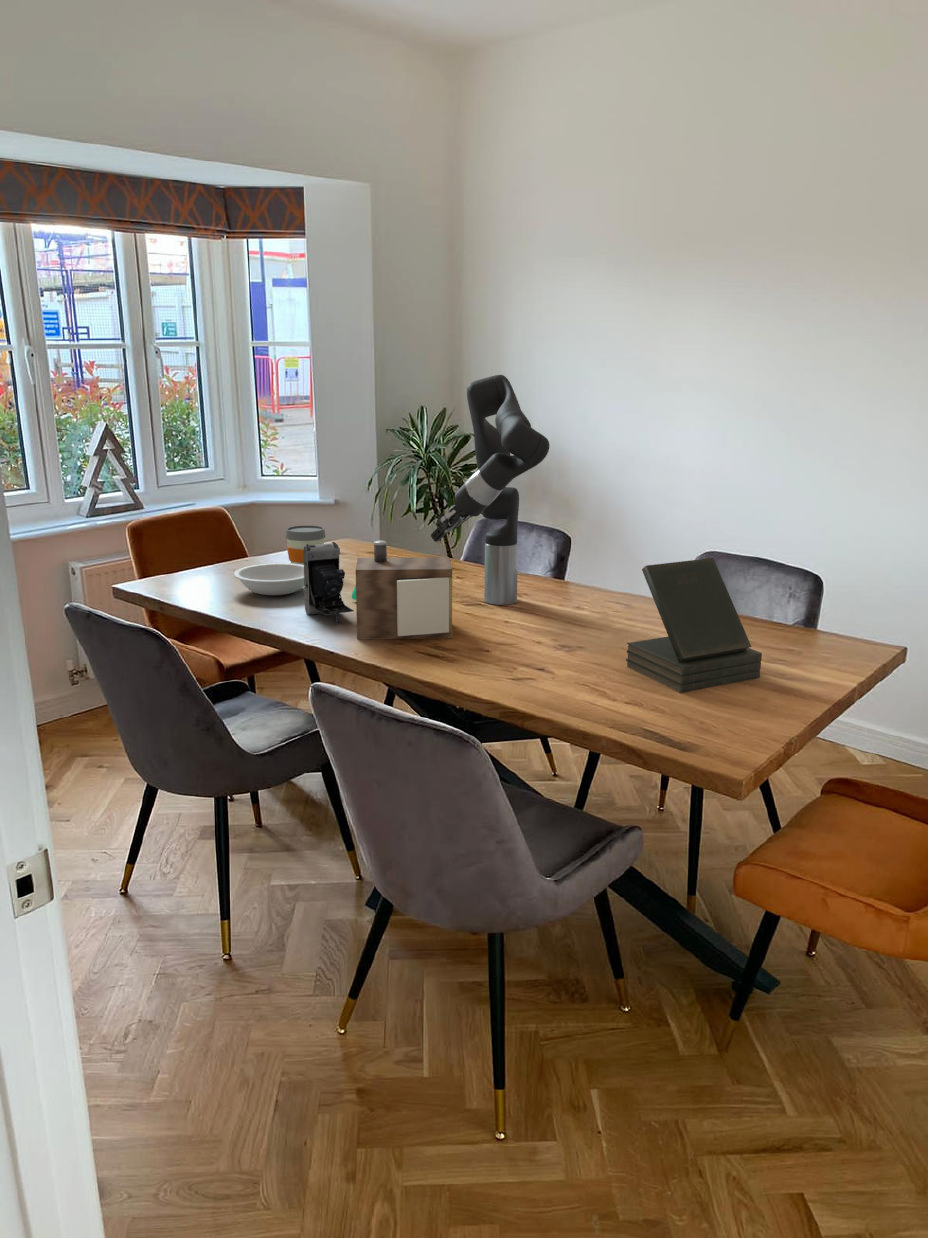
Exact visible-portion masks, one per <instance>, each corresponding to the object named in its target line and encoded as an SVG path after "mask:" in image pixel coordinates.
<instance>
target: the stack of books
mask: <svg viewBox="0 0 928 1238" xmlns="http://www.w3.org/2000/svg"><path fill="white" fill-rule="evenodd" d="M641 571H642V574H643V576H644V579H645V581H646V583H647V586H648V588H649V591H650V594H651V596H652V598H653V601H654V604H655V605H656V608H657V611H658V614H659V616H660V619H661V621H662V625H663V626H664V629H665V631H666V634H667V636H664V637H656V638H650V639H644V640H638V641H630V642H627V643H626V645H628V646H627V647H628V648H627V650H626V653H627V658H625V661H626V663H627V664H626V665H627V668H628V669H630V670H632V671H634V672H636V673H639V674H641V675H642V676H644V677H647V678H649V679H651V680H653V681H656V682H657V683H659V684H661V685H663V686H665V687H667V688H669V689H672V690H674V691H675V692H677V693H679V694H683V693H689V692H693V691H699V690H704V689H710V688H715V687H719V686H724V685H730V684H734V683H741V682H745V681H749V680H750V681H751V680H756V679H760V677H761V669H762V668H761V667H762V657H763V654H762V652H760V651H758V650H755V649H752V644H751V642H750V640H749V637H748V635H747V632H746V631H745V628H744V626H743V623H742V621H741V619H740V617H739V614H738V612H737V610H736V607H735V605H734V603H733V600H732V598H731V596H730V594H729V591H728V589H727V586H726V583H725V581H724V579H723V577H722V575H721V572H720V570H719V567H718V565H717V563H716V560H715V559H714V557H710V558H701V559H691V560H683V561H682V560H681V561H673V562H666V563H665V562H664V563H657V564H650V565H649V564H648V565H644V566H643V567H642V569H641Z"/></svg>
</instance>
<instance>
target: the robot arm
mask: <svg viewBox="0 0 928 1238" xmlns="http://www.w3.org/2000/svg"><path fill="white" fill-rule="evenodd" d="M466 400H467V404H468V410H469V414H470V420H471V424H472V429H473V430H472V431H473V439H474V440H473V442H474V453H475V460H476V467H477V470H476V471H475V472H474V473H473V474H471V475H470V476H469V478H468V479H467V480H466V481H465V482H464V483H463V485H462V486H460V487H459V489H457V491H456V492H455V494H454V500H455V504H452V505H450V507H449V508H448V510H447V511H446V513H443V512H442V513H440V514H438V518H437V520H436V523H435V526H436V527H437V528H436V529H435V530H434V531H432V532H431V534H430V537H431V538H432V540H433V541H434V542H439V541H441V540H442V539H443V538H444V537H445V536H446V535H447V534H448V533H450V532H451V531H452V530H455V529H457V528H459V527H460V526H462V525H463V523H465V522H466V521H468V520H469V519H471V518H472V517H478V516H480V515H482V517H483V518H484V519H487V520H494V521H495V520H498V521H499V520H500V521H502V520H503V521H506V523H505V524H504V525H503V526H501V527H499V528H496V529H493V530H490V531H488V532H486V533H485V535H484V580H483V581H484V584H483V585H484V588H483V589H484V592H483V595H484V596H483V597H484V599H483V600H484V602H485V604H486V603H487V604H490V605H496V606H497V605H501V606H502V605H511V604H518V570H517V568H518V566H517V563H518V561H517V560H518V558H517V557H518V524H519V522H518V521H519V510H520V508H519V507H520V494H519V490H518V489H517V488H516V487H511V486H510V487H509V486H508V485H509V484H510V483H511V482H512V481H513V480H514V479H515V478H517V477H520V475H522V474H524V473H526V472H528V471H529V470H531V469H533V468H535V467H536V466H538V465H539V464H540V463H541V462H543V461H544V460H545V458H547V456H548V454H549V450H550V442H549V439H548V437H546V436H545V435H543V434H542V433H540V432H539V431H537V430H536V429H534V428H533V427H532V424H531V422H530V420H529V419H528V418H527V416H526V415H525V414H524V412H523V410H522V409H521V406H520V403H519V400H518V398H517V396H516V393H515V390H514V389H513V386H512V384H511V382H510V380H509V379H508V377H506V376H505V375H504V374H495V375H492V376H487V377H485V378H480V379H477V380H473V381H472V382H469V384H468V385H467V387H466ZM491 416H495V420H494V422H495V423H494V424H495V426H494V425H492V424H491V423H490V422H489V421H488V420H487V419H486V418H488V417H491Z"/></svg>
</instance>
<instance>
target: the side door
mask: <svg viewBox="0 0 928 1238" xmlns="http://www.w3.org/2000/svg"><path fill="white" fill-rule="evenodd" d="M397 632H398V636H408V635H421V634H434V633H447V632H452V633H453V576H452V577H444V578H428V579H411V580H397Z"/></svg>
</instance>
